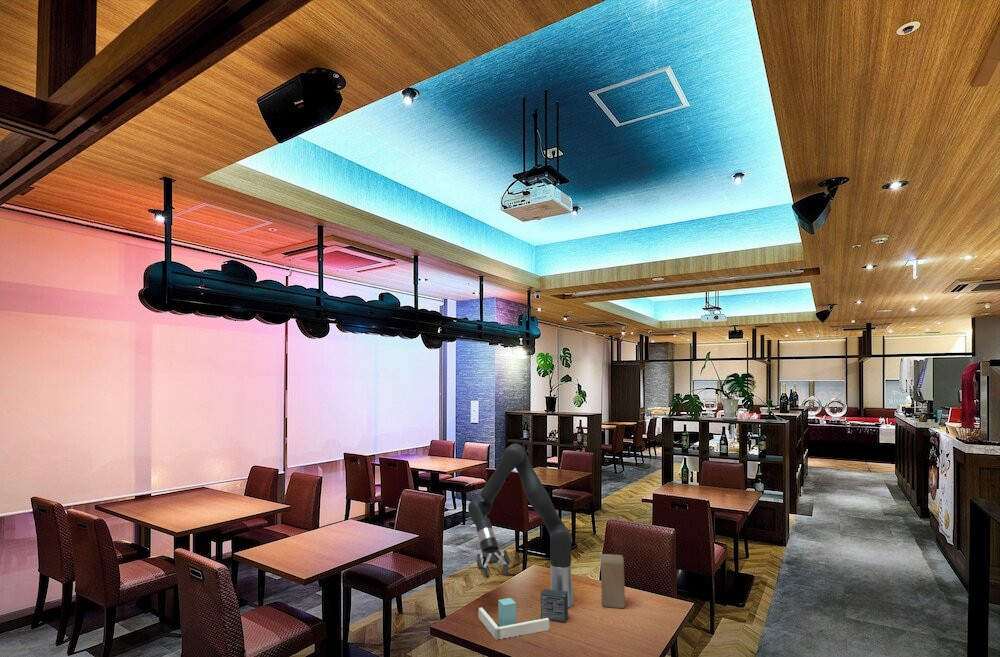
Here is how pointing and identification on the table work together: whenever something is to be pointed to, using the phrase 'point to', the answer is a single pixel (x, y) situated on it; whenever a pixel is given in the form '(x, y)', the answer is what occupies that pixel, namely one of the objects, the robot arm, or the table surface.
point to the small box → (554, 605)
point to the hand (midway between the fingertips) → (497, 576)
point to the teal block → (506, 612)
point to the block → (612, 581)
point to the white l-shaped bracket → (512, 626)
